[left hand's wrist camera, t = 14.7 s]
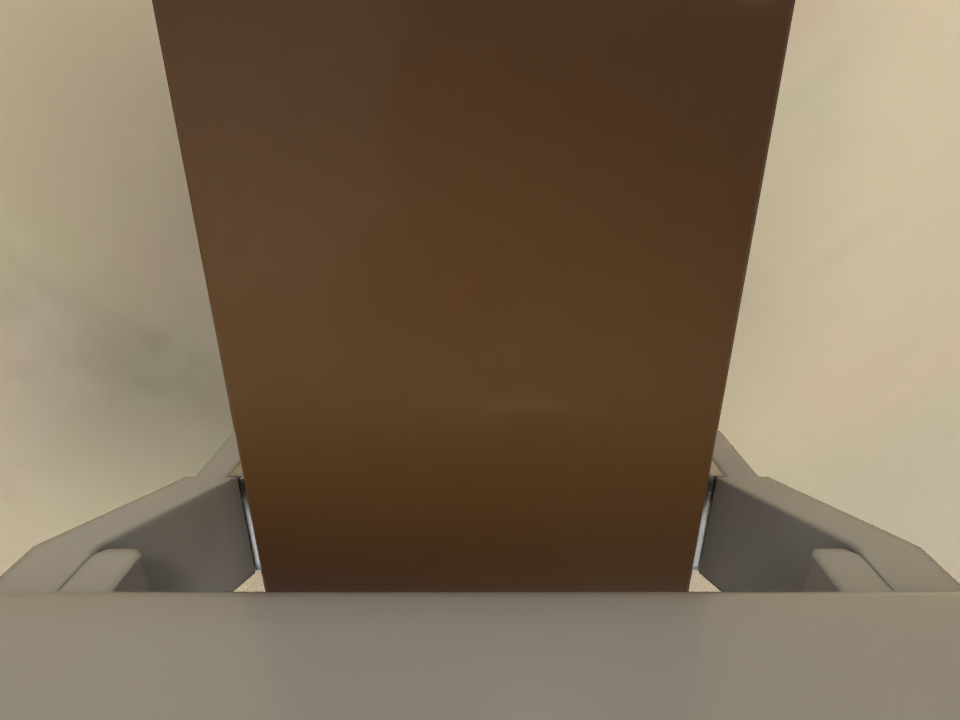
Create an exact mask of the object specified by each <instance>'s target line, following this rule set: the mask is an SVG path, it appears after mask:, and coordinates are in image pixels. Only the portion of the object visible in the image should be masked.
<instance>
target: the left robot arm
mask: <svg viewBox="0 0 960 720" xmlns="http://www.w3.org/2000/svg"><path fill="white" fill-rule="evenodd" d="M255 570H261V566H260V561H259V555H258V550H257V545H256V540H255V535H254V529H253V524H252V519H251V514H250V509H249V503H248V498H247V493H246V488H245V482H244V477H243V472H242V467H241V462H240V456H239V451H238V446H237V441H236V435H235V431H234V433H233V434H232V435H231V436H230V437H229V438H228V440H227V441H226V442H225V443H224V444H223V445H222V447H221V448H220V449H219V450H218V451H217V452H216V454H215V455H214V456H213V457H212V458H211V459H210V461H209V462H208V463H207V464H206V465H205V466H204V468H203V469H202V470H201V471H200V472H199V473H198V475H197V476H196V477H185V478H183V479H181V480H179V481H176V482H174V483H172V484H170V485H168V486H165V487H163V488H161V489H159V490H157V491H154V492H152V493H150V494H148V495H146V496H143V497H141V498H139V499H137V500H135V501H132V502H130V503H128V504H126V505H124V506H121V507H119V508H117V509H115V510H113V511H110V512H108V513H106V514H104V515H102V516H99V517H97V518H95V519H93V520H91V521H88V522H86V523H84V524H82V525H80V526H77V527H75V528H73V529H71V530H69V531H67V532H64V533H62V534H60V535H58V536H56V537H53V538H51V539H49V540H47V541H45V542H42V543H40V544H38V545H36V546H34V547H32V548H31V549H30V550H29V551H28V552H27V553H26V554H25V555H24V556H22V557H21V558H20V559H19V560H18V561H17V562H16V563H15V564H14V565H13V566H11V567H10V568H9V569H8V570H7V571H6V572H5V573H4V574H3V575H1V576H0V720H960V584H959V583H958V582H957V581H956V580H955V579H954V578H953V577H952V576H951V575H949V574H948V573H947V572H946V571H945V570H944V569H943V568H942V567H941V566H940V565H939V564H938V563H937V562H935V561H934V560H933V559H932V558H931V557H930V556H929V555H928V554H927V553H926V552H925V551H924V550H922V549H921V548H920V547H918V546H916V545H914V544H912V543H910V542H908V541H905V540H903V539H901V538H899V537H897V536H894V535H892V534H890V533H888V532H886V531H884V530H881V529H879V528H877V527H875V526H873V525H871V524H868V523H866V522H864V521H862V520H860V519H858V518H855V517H853V516H851V515H849V514H847V513H845V512H842V511H840V510H838V509H836V508H834V507H832V506H829V505H827V504H825V503H823V502H821V501H819V500H816V499H814V498H812V497H810V496H808V495H806V494H803V493H801V492H799V491H797V490H795V489H793V488H790V487H788V486H786V485H784V484H782V483H780V482H777V481H775V480H773V479H771V478H769V477H758V476H757V475H756V474H755V472H754V471H753V470H752V469H751V468H750V466H749V465H748V464H747V463H746V462H745V460H744V459H743V458H742V457H741V456H740V454H739V453H738V452H737V451H736V450H735V448H734V447H733V446H732V445H731V444H730V443H729V441H728V440H727V439H726V438H725V437H724V435H723V434H722V433H721V432H720V431H719V430H717V436H716V441H715V447H714V452H713V458H712V463H711V469H710V474H709V480H708V485H707V491H706V496H705V502H704V508H703V513H702V519H701V524H700V530H699V535H698V541H697V546H696V552H695V557H694V563H693V568H692V570H699V573H700V574H701V575H703V576H704V577H705V578H706V579H707V580H708V581H710V582H711V583H712V584H713V585H714V586H715V587H717V588H718V589H719V590H720V591H721V592H233V591H234V590H235V589H237V588H238V587H239V586H240V585H241V584H242V583H244V582H245V581H246V580H247V579H248V578H250V577H251V576H252V575H253V574H254V573H255Z"/></svg>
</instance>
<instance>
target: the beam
mask: <svg viewBox="0 0 960 720" xmlns="http://www.w3.org/2000/svg"><path fill="white" fill-rule="evenodd" d="M152 2H153V8H154V13H155V18H156V23H157V29H158V34H159V39H160V44H161V49H162V55H163V60H164V65H165V70H166V75H167V81H168V86H169V91H170V96H171V102H172V107H173V112H174V117H175V122H176V128H177V133H178V138H179V143H180V149H181V154H182V159H183V164H184V169H185V175H186V180H187V185H188V190H189V195H190V201H191V206H192V211H193V216H194V222H195V227H196V232H197V237H198V242H199V248H200V253H201V258H202V263H203V269H204V274H205V279H206V284H207V289H208V295H209V300H210V305H211V310H212V315H213V321H214V326H215V331H216V336H217V342H218V347H219V352H220V357H221V362H222V368H223V373H224V378H225V383H226V389H227V394H228V399H229V404H230V409H231V415H232V420H233V425H234V430H235V435H236V441H237V446H238V451H239V456H240V462H241V467H242V472H243V477H244V482H245V488H246V493H247V498H248V503H249V509H250V514H251V519H252V524H253V529H254V535H255V540H256V545H257V550H258V555H259V561H260V566H261V571H262V576H263V582H264V587H265V592H688V591H689V585H690V579H691V574H692V568H693V563H694V557H695V552H696V546H697V541H698V535H699V530H700V524H701V519H702V513H703V508H704V502H705V496H706V491H707V485H708V480H709V474H710V469H711V463H712V458H713V452H714V447H715V441H716V436H717V430H718V425H719V419H720V413H721V408H722V402H723V397H724V391H725V386H726V380H727V375H728V369H729V364H730V358H731V353H732V347H733V342H734V336H735V330H736V325H737V319H738V314H739V308H740V303H741V297H742V292H743V286H744V281H745V275H746V270H747V264H748V259H749V253H750V247H751V242H752V236H753V231H754V225H755V220H756V214H757V209H758V203H759V198H760V192H761V187H762V181H763V175H764V170H765V164H766V159H767V153H768V148H769V142H770V137H771V131H772V126H773V120H774V115H775V109H776V104H777V98H778V92H779V87H780V81H781V76H782V70H783V65H784V59H785V54H786V48H787V43H788V37H789V32H790V26H791V21H792V15H793V9H794V4H795V0H152Z"/></svg>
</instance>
